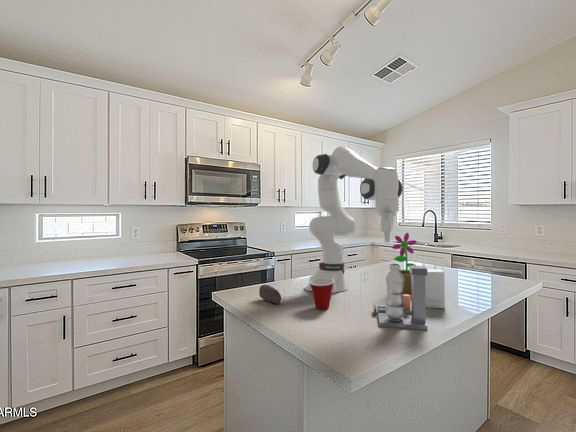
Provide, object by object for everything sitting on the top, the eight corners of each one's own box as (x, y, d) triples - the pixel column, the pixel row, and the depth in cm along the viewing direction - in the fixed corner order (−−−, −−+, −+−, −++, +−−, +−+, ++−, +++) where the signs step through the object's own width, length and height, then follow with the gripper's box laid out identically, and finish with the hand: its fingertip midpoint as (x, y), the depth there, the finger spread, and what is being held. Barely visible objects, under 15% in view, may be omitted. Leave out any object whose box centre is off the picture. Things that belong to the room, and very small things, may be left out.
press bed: (379, 326, 109) (378, 268, 109) (377, 316, 120) (377, 263, 120) (429, 330, 105) (428, 270, 105) (423, 319, 116) (422, 264, 116)
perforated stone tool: (285, 304, 136) (285, 289, 136) (275, 307, 133) (275, 291, 133) (267, 297, 149) (267, 283, 148) (258, 299, 146) (258, 285, 145)
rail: (373, 315, 121) (373, 308, 121) (373, 311, 126) (373, 305, 126) (425, 318, 117) (425, 311, 117) (423, 314, 121) (422, 308, 121)
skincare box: (442, 304, 134) (442, 269, 133) (445, 309, 127) (445, 272, 127) (422, 302, 136) (422, 268, 136) (423, 307, 130) (423, 271, 130)
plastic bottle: (382, 315, 115) (382, 263, 115) (400, 315, 116) (399, 262, 116) (390, 322, 109) (389, 266, 108) (408, 321, 109) (407, 265, 109)
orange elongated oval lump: (401, 313, 119) (401, 296, 119) (400, 310, 122) (400, 294, 122) (412, 313, 118) (412, 296, 118) (411, 311, 121) (410, 294, 121)
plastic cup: (304, 307, 132) (303, 280, 132) (321, 302, 139) (321, 276, 139) (322, 313, 124) (322, 284, 124) (339, 308, 131) (339, 280, 131)
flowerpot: (416, 288, 161) (416, 232, 160) (426, 296, 146) (426, 234, 146) (389, 288, 162) (388, 232, 162) (395, 296, 148) (395, 234, 147)
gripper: (395, 207, 110) (395, 245, 111) (395, 207, 130) (396, 239, 130) (376, 207, 113) (377, 244, 113) (380, 207, 132) (380, 239, 132)
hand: (387, 242), depth 122 cm, fingers closed
